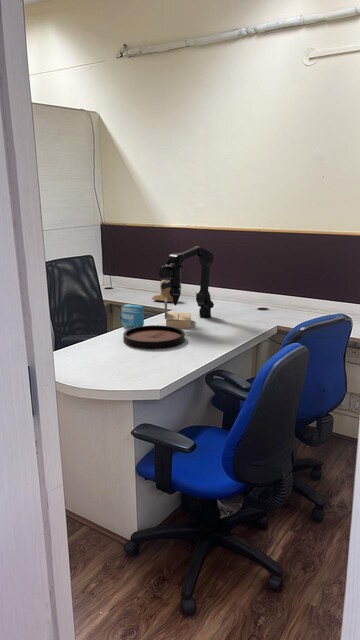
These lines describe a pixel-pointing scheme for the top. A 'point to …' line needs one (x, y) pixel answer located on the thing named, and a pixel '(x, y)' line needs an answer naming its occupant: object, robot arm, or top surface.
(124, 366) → the top surface
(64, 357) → the top surface
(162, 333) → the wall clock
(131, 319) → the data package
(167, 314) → the carton flap
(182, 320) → the carton
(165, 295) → the tan suede boot shape
